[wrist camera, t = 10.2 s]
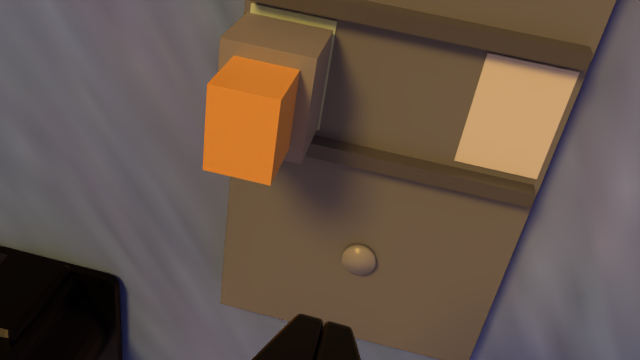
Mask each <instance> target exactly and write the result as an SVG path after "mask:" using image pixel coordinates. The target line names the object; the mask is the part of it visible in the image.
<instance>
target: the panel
mask: <svg viewBox="0 0 640 360" xmlns="http://www.w3.org/2000/svg"><path fill="white" fill-rule="evenodd" d="M615 2H616V0H245V9H244V15H245V14H246V13H247V12H249V13H254V14H258V15H263V16H268V17H272V18H277V19H282V20H287V21H291V22H296V23H301V24H306V25H310V26H315V27H320V28H325V29H329V30H334V31H333V37H332V43H331V49H330V55H329V61H328V67H327V73H326V79H325V85H324V91H323V98H322V104H321V110H320V116H319V122H318V128H317V130H316V132H315V134H314V137H313V139H312V141H311V143H310V145H309V148H308V150H307V152H306V154H305V156H304V159H303V161H302V163H301V164H297V163H293V162H289V161H284V160H283V162H282V164H281V166H280V168H279V170H278V172H277V174H276V176H275V178H274V180H273V182H272V184H271V186H269V185H265V184H261V183H257V182H252V181H248V180H244V179H240V178H236V177H231V179H230V191H229V203H228V216H227V228H226V240H225V252H224V264H223V276H222V289H221V301H220V303H221V304H225V305H228V306H232V307H236V308H240V309H244V310H248V311H252V312H256V313H260V314H264V315H268V316H272V317H276V318H279V319H283V320H287V321H291V320H292V319H293V318H294V317H295V316H296V315H298V314H305V315H309V316H313V317H316V318H320V319H322V320H323V322H324V324H325V323H326V322H327V321H331V322H335V323H339V324H343V325H346V326H349V327H351V328H352V330H353V333H354V337H355V338H358V339H362V340H366V341H370V342H374V343H377V344H381V345H385V346H389V347H393V348H397V349H401V350H405V351H409V352H413V353H417V354H421V355H425V356H428V357H432V358H436V359H440V360H469V359H470V356H471V354H472V352H473V349H474V347H475V344H476V342H477V339H478V337H479V334H480V332H481V330H482V327H483V325H484V322H485V320H486V317H487V315H488V312H489V310H490V308H491V305H492V303H493V300H494V298H495V295H496V293H497V290H498V288H499V286H500V283H501V281H502V278H503V276H504V273H505V271H506V268H507V266H508V264H509V261H510V259H511V256H512V254H513V251H514V249H515V247H516V244H517V242H518V239H519V237H520V234H521V232H522V229H523V227H524V225H525V222H526V220H527V217H528V215H529V212H530V210H531V207H532V205H533V203H534V200H535V198H536V195H537V193H538V190H539V188H540V185H541V183H542V181H543V178H544V176H545V173H546V171H547V168H548V166H549V164H550V161H551V159H552V156H553V154H554V151H555V149H556V146H557V144H558V142H559V139H560V137H561V134H562V132H563V129H564V127H565V124H566V122H567V120H568V117H569V115H570V112H571V110H572V107H573V105H574V102H575V100H576V98H577V95H578V93H579V90H580V88H581V85H582V83H583V81H584V78H585V76H586V73H587V71H588V68H589V66H590V63H591V61H592V59H593V56H594V54H595V51H596V49H597V46H598V44H599V41H600V39H601V37H602V34H603V32H604V29H605V27H606V24H607V22H608V19H609V17H610V15H611V12H612V10H613V7H614V5H615ZM323 327H324V326H323Z"/></svg>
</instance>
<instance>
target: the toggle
mask: <svg viewBox="0 0 640 360" xmlns="http://www.w3.org/2000/svg"><path fill="white" fill-rule="evenodd" d="M333 31H334V30H329V29H325V28H320V27H315V26H310V25H306V24H301V23H296V22H291V21H287V20H282V19H277V18H272V17H268V16H263V15H258V14H254V13H249V12H247V13H246V14H245V15H244V16H243V17H241V18H240V19H239V20H238V21H237V22H236V23H235V24H234V25H233V26H232V27H231V28H230V29H229V30H228V31H227V32H226V33H225V34H223V35H222V36H221V37H220V47H219V63H218V73H217V74H216V75H215V76H214V77H213V78H212V79H211V80H210V82H209V83H208V84H207V98H206V117H205V136H204V155H203V170H206V171H210V172H214V173H219V174H223V175H227V176H231V177H236V178H240V179H244V180H248V181H252V182H257V183H261V184H265V185H269V186H271V184H272V182H273V180H274V178H275V176H276V174H277V172H278V170H279V168H280V166H281V164H282V162H283V160H284V161H289V162H293V163H297V164H301V163H302V161H303V159H304V156H305V154H306V152H307V150H308V148H309V145H310V143H311V141H312V139H313V137H314V134H315V132H316V130H317V128H318V122H319V116H320V110H321V104H322V98H323V91H324V85H325V79H326V73H327V67H328V61H329V55H330V49H331V43H332V37H333Z"/></svg>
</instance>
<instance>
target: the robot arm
mask: <svg viewBox="0 0 640 360" xmlns="http://www.w3.org/2000/svg"><path fill="white" fill-rule="evenodd" d="M106 285H107V286H106ZM323 326H324V327H323ZM0 360H122V342H121V316H120V290H119V282H118V280H117V279H116V278H115V277H114V276H113V275H110V274H108V273H104V272H100V271H96V270H92V269H88V268H84V267H80V266H76V265H73V264H69V263H65V262H61V261H57V260H53V259H49V258H45V257H41V256H37V255H33V254H29V253H25V252H22V251H18V250H14V249H10V248H6V247H2V246H0ZM252 360H361V359H360V355H359V351H358V348H357V344H356V340H355V337H354V333H353V330H352V328H351V327H349V326H346V325H343V324H339V323H335V322H331V321H327V322H326V323H325V324H324V322H323V320H322V319H320V318H316V317H313V316H309V315H305V314H298V315H296V316H295V317H294V318H293V319H292V320H291V321H290V322H289V323H288V324H287V325H286V326H285V327H284V328H283V329H282V330H281V331H280V332H279V333H278V334H277V335H276V336H275V337H274V338H273V339H272V340H271V341H270V342H269V343H268V344H267V345H266V346H265V347H264V348H263V349H262V350H261V351H260V352H259V353H258V354H257V355H256V356H255V357H254V358H253V359H252Z"/></svg>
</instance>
